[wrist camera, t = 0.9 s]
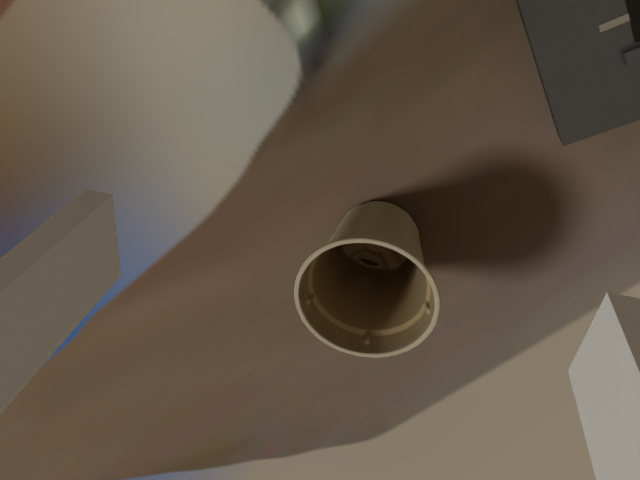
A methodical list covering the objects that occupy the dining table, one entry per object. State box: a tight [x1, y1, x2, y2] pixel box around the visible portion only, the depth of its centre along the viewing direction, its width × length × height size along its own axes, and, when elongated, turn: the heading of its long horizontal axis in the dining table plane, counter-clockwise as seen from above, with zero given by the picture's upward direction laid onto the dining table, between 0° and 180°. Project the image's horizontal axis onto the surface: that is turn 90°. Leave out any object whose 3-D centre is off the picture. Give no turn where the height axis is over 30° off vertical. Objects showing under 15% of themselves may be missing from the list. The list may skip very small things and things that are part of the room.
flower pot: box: [294, 201, 440, 358], centre depth 39 cm, size 9×9×9 cm
